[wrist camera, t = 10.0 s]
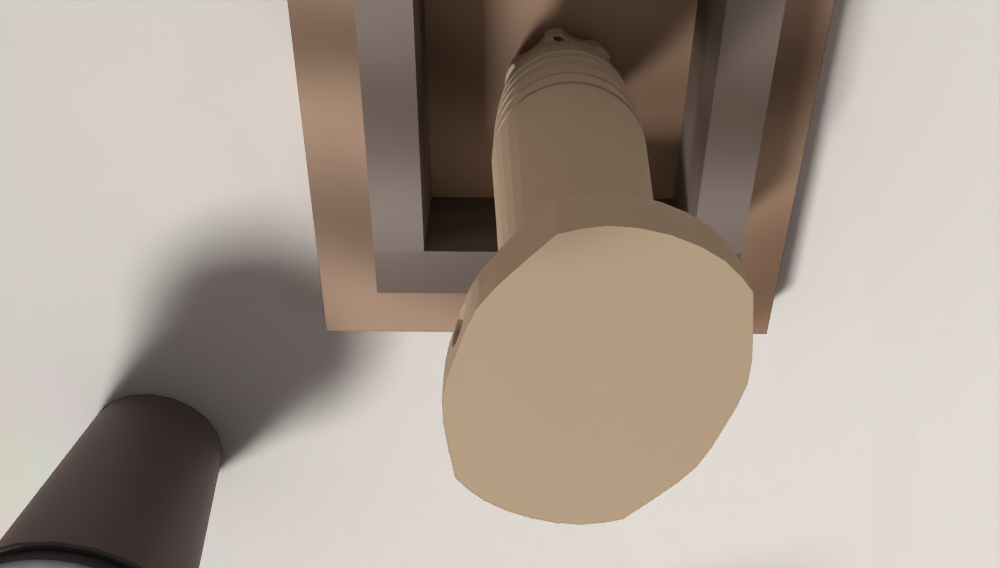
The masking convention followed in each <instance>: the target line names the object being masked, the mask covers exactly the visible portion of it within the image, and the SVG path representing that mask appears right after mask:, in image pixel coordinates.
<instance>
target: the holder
mask: <svg viewBox="0 0 1000 568" xmlns="http://www.w3.org/2000/svg"><path fill="white" fill-rule="evenodd" d="M287 1H288V9H289V18H290V26H291V34H292V43H293V51H294V60H295V68H296V76H297V85H298V93H299V102H300V110H301V118H302V127H303V135H304V143H305V152H306V160H307V169H308V177H309V185H310V194H311V202H312V211H313V219H314V227H315V236H316V244H317V253H318V261H319V269H320V278H321V286H322V295H323V303H324V311H325V320H326V328H327V331H412V332H453V331H454V328H455V325H456V322H457V319H458V316H459V313H460V310H461V307H462V304H463V301H464V299H465V297H466V295H467V293H468V291H469V289H470V287H471V285H472V284H473V282H474V280H475V278H476V277H477V275H478V274H479V272H480V271H481V270H482V269H483V267H484V266H485V265H486V264H487V263H488V262H489V261H490V259H491V258H492V257H493V256H494V255H495V254H496V253H497V252H498V242H497V225H496V212H495V199H494V186H493V173H492V149H493V138H494V128H495V121H496V117H497V111H498V106H499V103H500V99H501V95H502V92H503V89H504V86H505V78H506V74H507V70H508V67H509V65H510V63H511V61H512V60H513V58H514V57H515V56H516V55H518V54H523V53H525V52H527V51H529V50H530V49H532V48H533V47H535V46H536V45H537V44H538V43H539V42H540V41H541V39H542V38H543V37H544V35H545V32H546V31H547V30H549V29H554V28H562V29H563V30H564V31H565V32H566V33H567V34H569V35H570V36H572V37H575V38H577V39H582V40H591V39H595V40H596V41H597V42H599V43H600V44H601V45H602V46H603V47H604V48H605V50H606V51H607V53H608V54H609V56H610V61H609V62H610V63H611V64H612V65H613V67H614V68H615V69H616V70H617V72H618V73H619V75H620V76H621V78H622V79H623V81H624V83H625V85H626V87H627V89H628V91H629V93H630V95H631V97H632V99H633V102H634V104H635V107H636V110H637V113H638V116H639V119H640V122H641V126H642V129H643V133H644V137H645V141H646V148H647V155H648V163H649V170H650V178H651V185H652V193H653V200H655V201H659V202H662V203H664V204H667V205H670V206H672V207H675V208H677V209H680V210H682V211H685V212H687V213H689V214H691V215H692V216H694V217H696V218H697V219H699V220H701V221H702V222H704V223H706V224H707V225H709V226H710V227H711V228H712V229H713V230H714V231H715V232H716V233H717V234H718V235H719V236H720V237H721V238H722V239H723V240H724V241H726V242H727V244H728V245H729V246H730V248H731V249H732V250H733V252H734V253H735V255H736V256H737V257H738V259H739V260H740V262H741V263H742V266H743V268H744V270H745V273H746V275H747V278H748V280H749V283H750V285H751V288H752V290H753V334H767V329H768V324H769V319H770V314H771V309H772V305H773V300H774V295H775V290H776V285H777V280H778V275H779V270H780V265H781V260H782V256H783V251H784V246H785V241H786V236H787V231H788V226H789V221H790V216H791V211H792V206H793V202H794V197H795V192H796V187H797V182H798V177H799V172H800V167H801V162H802V157H803V153H804V148H805V143H806V138H807V133H808V128H809V123H810V118H811V113H812V108H813V104H814V99H815V94H816V89H817V84H818V79H819V74H820V69H821V64H822V59H823V54H824V50H825V45H826V40H827V35H828V30H829V25H830V20H831V15H832V10H833V5H834V1H835V0H287Z"/></svg>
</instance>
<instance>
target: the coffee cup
mask: <svg viewBox="0 0 1000 568" xmlns="http://www.w3.org/2000/svg"><path fill="white" fill-rule="evenodd" d="M221 455H222V446H221V442H220V439H219V436H218V433H217V432H216V430H215V429H214V428H213V426H212V425H211V424H210V422H209V421H208V420H207V419H206V418H205V417H203V416H202V415H201V414H200V413H198V412H197V411H196V410H194V409H193V408H192V407H190V406H187V405H185V404H183V403H180V402H178V401H176V400H174V399H170V398H165V397H160V396H155V395H133V396H128V397H125V398H122V399H119V400H116V401H113V402H112V403H110V404H109V405H108V406H107V407H105V408H104V409H103V410H101V411H100V412H99V414H98V415H97V416H96V418H95V419H94V420H93V421H92V423H91V424H90V425H89V427H88V428H87V429H86V430H85V432H84V433H83V434H82V436H81V437H80V438H79V439H78V441H77V442H76V443H75V445H74V446H73V447H72V448H71V450H70V451H69V452H68V454H67V455H66V456H65V458H64V459H63V460H62V461H61V463H60V464H59V465H58V467H57V468H56V469H55V470H54V472H53V473H52V474H51V476H50V477H49V478H48V479H47V481H46V482H45V483H44V485H43V486H42V487H41V488H40V490H39V491H38V492H37V494H36V495H35V496H34V497H33V499H32V500H31V501H30V503H29V504H28V505H27V506H26V508H25V509H24V510H23V512H22V513H21V514H20V515H19V517H18V518H17V519H16V521H15V522H14V523H13V524H12V526H11V527H10V528H9V530H8V531H7V532H6V533H5V535H4V536H3V537H2V539H1V540H0V568H199V565H200V560H201V555H202V550H203V545H204V540H205V536H206V531H207V526H208V521H209V516H210V511H211V506H212V502H213V497H214V492H215V487H216V482H217V477H218V473H219V468H220V463H221Z"/></svg>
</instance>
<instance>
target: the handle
mask: <svg viewBox="0 0 1000 568" xmlns="http://www.w3.org/2000/svg"><path fill="white" fill-rule="evenodd" d="M609 61H610V56H609V54H608V53H607V51H606V50H605V48H604V47H603V46H602V45H601V44H600V43H599V42H597V41H596V40H595V39H591V40H582V39H577V38H575V37H572V36H570V35H569V34H567V33H566V32H565V31H564V30H563V29H562V28H554V29H549V30H547V31H546V32H545V35H544V37H543V38H542V39H541V41H540V42H539V43H538V44H537V45H536V46H535V47H533V48H532V49H530V50H529V51H527V52H525V53H523V54H518V55H516V56H515V57H514V58H513V60H512V61H511V63H510V65H509V67H508V70H507V74H506V78H505V86H504V89H503V92H502V95H501V99H500V103H499V106H498V111H497V117H496V121H495V128H494V138H493V149H492V173H493V186H494V199H495V212H496V225H497V242H498V252H497V253H496V254H495V255H494V256H493V257H492V258H491V259H490V261H489V262H488V263H487V264H486V265H485V266H484V267H483V269H482V270H481V271H480V272H479V274H478V275H477V277H476V278H475V280H474V282H473V284H472V285H471V287H470V289H469V291H468V293H467V295H466V297H465V299H464V301H463V304H462V307H461V310H460V313H459V316H458V319H457V322H456V325H455V328H454V331H453V334H452V338H451V341H450V344H449V348H448V352H447V357H446V362H445V371H444V380H443V394H442V409H443V424H444V429H445V434H446V439H447V444H448V449H449V453H450V457H451V462H452V466H453V470H454V474H455V478H456V479H457V480H458V481H459V482H461V483H462V484H463V485H464V486H465V487H466V488H467V489H468V490H470V491H471V492H472V493H474V494H475V495H477V496H478V497H480V498H481V499H483V500H484V501H486V502H488V503H490V504H493V505H495V506H497V507H499V508H501V509H504V510H506V511H509V512H512V513H516V514H519V515H522V516H525V517H529V518H533V519H538V520H544V521H549V522H554V523H566V524H581V525H582V524H594V523H604V522H610V521H615V520H621V519H624V518H625V517H627V516H628V515H630V514H631V513H633V512H635V511H636V510H638V509H639V508H641V507H642V506H644V505H645V504H647V503H648V502H650V501H651V500H653V499H655V498H656V497H657V496H659V495H660V494H662V493H663V492H665V491H666V490H668V489H669V488H671V487H672V486H674V485H675V484H676V483H678V482H679V481H680V480H682V479H683V478H684V477H685V476H686V475H687V474H689V473H690V472H691V471H692V470H693V469H694V468H696V467H697V466H698V464H699V463H700V462H701V461H702V459H703V458H704V457H705V455H706V454H707V453H708V452H709V450H710V449H711V448H712V446H713V445H714V443H715V441H716V440H717V438H718V436H719V435H720V433H721V432H722V430H723V428H724V427H725V425H726V423H727V422H728V420H729V419H730V417H731V415H732V414H733V412H734V410H735V409H736V407H737V405H738V403H739V401H740V399H741V397H742V395H743V392H744V390H745V388H746V386H747V384H748V378H749V373H750V368H751V363H752V345H753V290H752V288H751V285H750V283H749V280H748V278H747V275H746V273H745V270H744V268H743V266H742V263H741V262H740V260H739V259H738V257H737V256H736V255H735V253H734V252H733V250H732V249H731V248H730V246H729V245H728V244H727V242H726V241H724V240H723V239H722V238H721V237H720V236H719V235H718V234H717V233H716V232H715V231H714V230H713V229H712V228H711V227H710V226H709V225H707V224H706V223H704V222H702V221H701V220H699V219H697V218H696V217H694V216H692V215H691V214H689V213H687V212H685V211H682V210H680V209H677V208H675V207H672V206H670V205H667V204H664V203H662V202H659V201H655V200H653V193H652V185H651V178H650V170H649V163H648V155H647V148H646V141H645V137H644V133H643V129H642V126H641V122H640V119H639V116H638V113H637V110H636V107H635V104H634V102H633V99H632V97H631V95H630V93H629V91H628V89H627V87H626V85H625V83H624V81H623V79H622V78H621V76H620V75H619V73H618V72H617V70H616V69H615V68H614V67H613V65H612V64H611V63H610V62H609Z"/></svg>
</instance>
